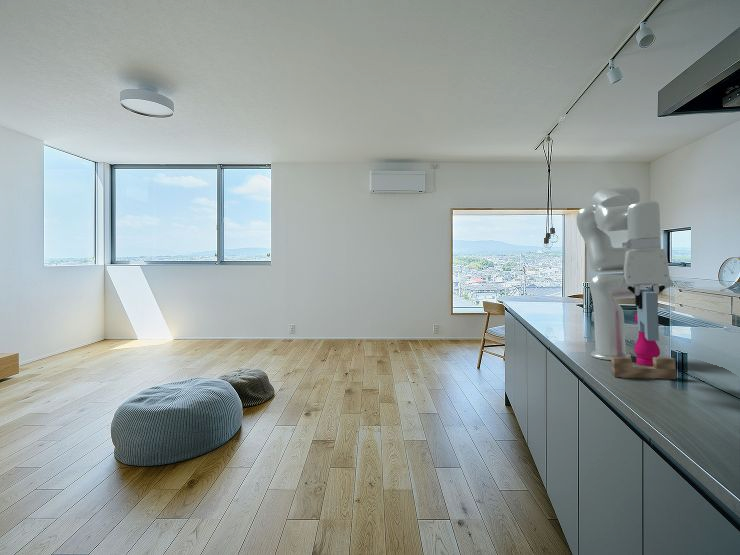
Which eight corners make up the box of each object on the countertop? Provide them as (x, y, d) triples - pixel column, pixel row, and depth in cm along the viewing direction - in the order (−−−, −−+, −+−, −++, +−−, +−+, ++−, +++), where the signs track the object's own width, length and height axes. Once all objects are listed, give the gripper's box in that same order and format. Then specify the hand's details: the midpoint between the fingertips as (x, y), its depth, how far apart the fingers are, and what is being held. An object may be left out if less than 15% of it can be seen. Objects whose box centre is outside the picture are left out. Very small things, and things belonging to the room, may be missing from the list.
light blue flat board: (637, 329, 113) (636, 287, 112) (647, 329, 112) (645, 287, 111) (647, 340, 99) (646, 293, 98) (658, 340, 98) (657, 292, 97)
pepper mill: (665, 366, 122) (662, 307, 122) (641, 366, 123) (638, 308, 123) (653, 361, 129) (650, 305, 129) (630, 361, 131) (627, 306, 130)
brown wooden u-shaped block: (614, 377, 114) (613, 358, 114) (612, 375, 116) (611, 356, 116) (676, 379, 109) (675, 359, 109) (672, 376, 111) (671, 357, 111)
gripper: (612, 247, 105) (614, 310, 106) (683, 242, 97) (686, 310, 98) (609, 247, 111) (612, 306, 112) (676, 243, 104) (678, 306, 104)
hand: (646, 308), depth 105 cm, fingers closed on light blue flat board, 2 cm apart
